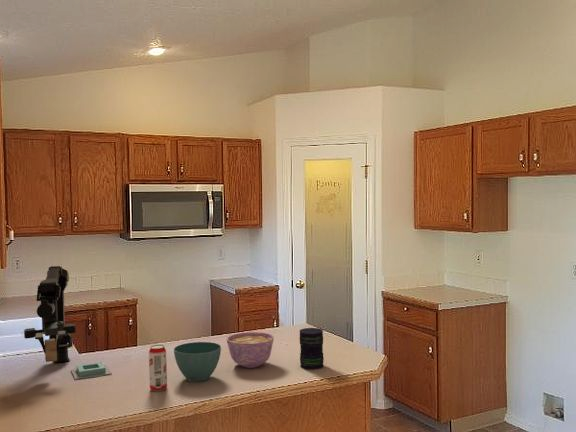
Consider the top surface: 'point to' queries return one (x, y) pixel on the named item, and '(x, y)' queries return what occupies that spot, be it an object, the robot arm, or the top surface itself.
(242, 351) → the bowl of food
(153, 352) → the beer can
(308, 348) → the storage jar
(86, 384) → the top surface
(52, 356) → the walnut peg
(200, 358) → the teal bowl
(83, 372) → the socket block
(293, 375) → the top surface
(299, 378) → the top surface
